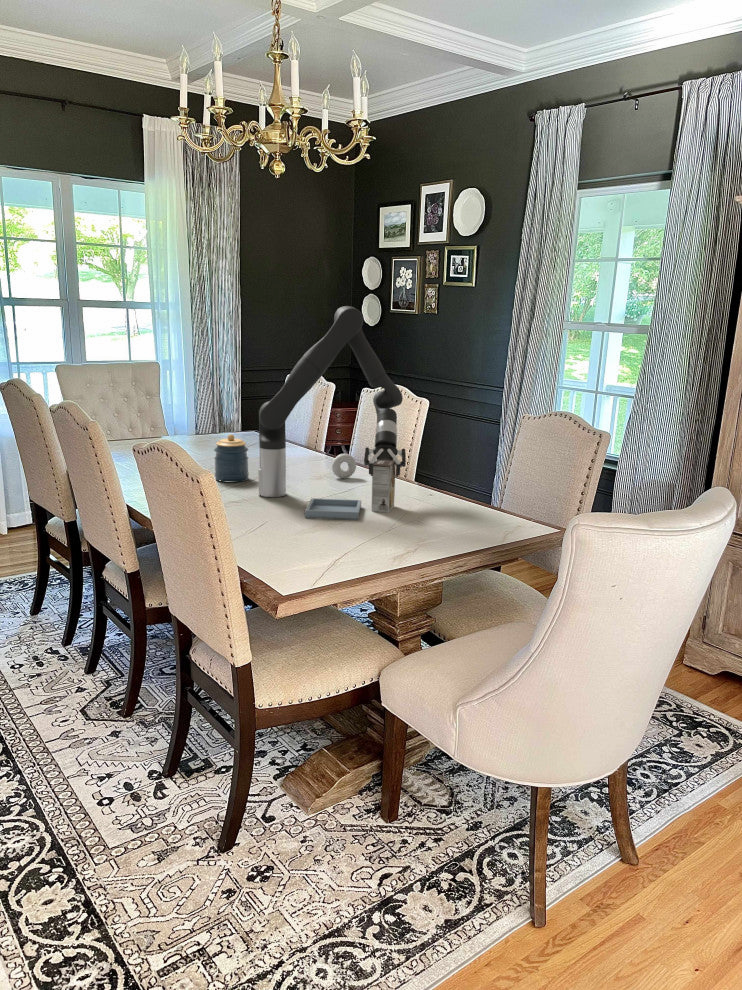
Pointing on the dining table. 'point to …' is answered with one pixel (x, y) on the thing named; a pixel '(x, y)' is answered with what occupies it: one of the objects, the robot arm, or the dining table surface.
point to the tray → (333, 509)
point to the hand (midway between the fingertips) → (384, 475)
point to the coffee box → (383, 485)
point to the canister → (231, 460)
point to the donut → (339, 461)
